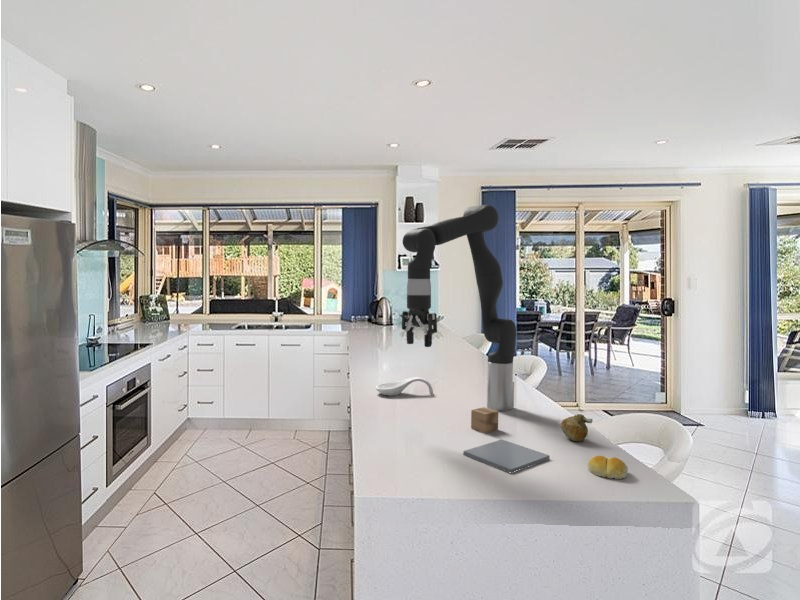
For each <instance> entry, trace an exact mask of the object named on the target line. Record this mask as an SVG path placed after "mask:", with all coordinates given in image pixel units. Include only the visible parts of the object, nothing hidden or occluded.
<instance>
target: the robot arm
mask: <svg viewBox="0 0 800 600" xmlns="http://www.w3.org/2000/svg"><path fill="white" fill-rule="evenodd" d="M498 213H499V212H498V211H497V209H496V208H495V206H492V205H490V204H482V205H481V204H480V205H474V206H469V207H467V208H466V209H464V212H463V214H462V215H463V216H459V217H454V218H448V219H445V220H442V221H441V220H440V221H438V222H435V223H433V224H430V225H427V226H422V227H418V228H412V229H410V230H408V231H406V232H405V234H403V237H402V245H403V248H404V249H405V250H406V251H407V252H411V253H416V255H415V258H414V259H411V260H410V261H408V263H407V281H406V282H407V283H406V309H408V310H403V311H402V313H401V315H402V316H401V320H402V321H401V330H402V331H404V332H405V333H406V344H408V345H413V344H414V341H415V338H414V336H415V335H414V330H415V328H416V327H420V329H421V330H422V331H423V333H424V339H423V340H424V342H423V343H424V345H423V346H424V347H425V348H429V347H430V348H431V347H432V345H433V334H437V332H438V321H437V319H438V318H437V313H435V312H433V313H430V312H429V310H430V309H431V308H432V282H431V264H432V261H433V258H434V257H433V256H434V252H435V249H436V246H439V245H444V244H446V243H448V242H451V241H454V240H456V239H459V238H462V237H465V236H466V238H467V242H468V244H469V249H470V253H471V259H472V263H473V268H474V275H475V279H476V285H477V289H478V294H479V295H478V296H479V302H480V309H481V321H482V331H483V335H484V338H485V340H487V341H488V342H490V343H493V344H498V345H497V346H498V347H497V350H495V351H493V352H490V353H488V355H487V383H486V385H487V389H486V390H487V391H486V392H487V393H486V408H489V409H492V410H496V411H498V412H499V411H501V412H504V411H505V412H507V411H511V410H512V409H513V408H514V406H515V382H514V381H513V379H514V376H513V375H514V358H515V354H516V345H517V344H516V343H517V326H516V323H515V322H514V321H513V320H511V319H508V318H499V317H498V313H497V302H498V300H499V296H500V293H501V291H502V288H503V285H504V282H503V275H502V270H501V269H502V268H501V265H500V262H498V259H497V258H496V257H495V256H494V254H493V253H492V252H491V250H490V249H489V247H488V246H487V243H486V242H485V239H484V238H485V237H484V233H485V232H490V231H492V230H494V229H495V228H496V227H497V225H498V223H499V222H498V221H499V214H498Z"/></svg>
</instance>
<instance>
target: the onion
mask: <svg viewBox="0 0 800 600" xmlns="http://www.w3.org/2000/svg"><path fill="white" fill-rule="evenodd" d="M592 423H593V418H587V417H585V415H584V414H575V415H573V416H568V417H566V418H564V419H563V420H562V421H561V423H560V429H561V431H562V433H563V434H564V435H565V436H566V437H567V439H569V440H571V441H573V442H582V441H585V439H586V438H587V437H588V433H589V429H588V425H587V424H592Z"/></svg>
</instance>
